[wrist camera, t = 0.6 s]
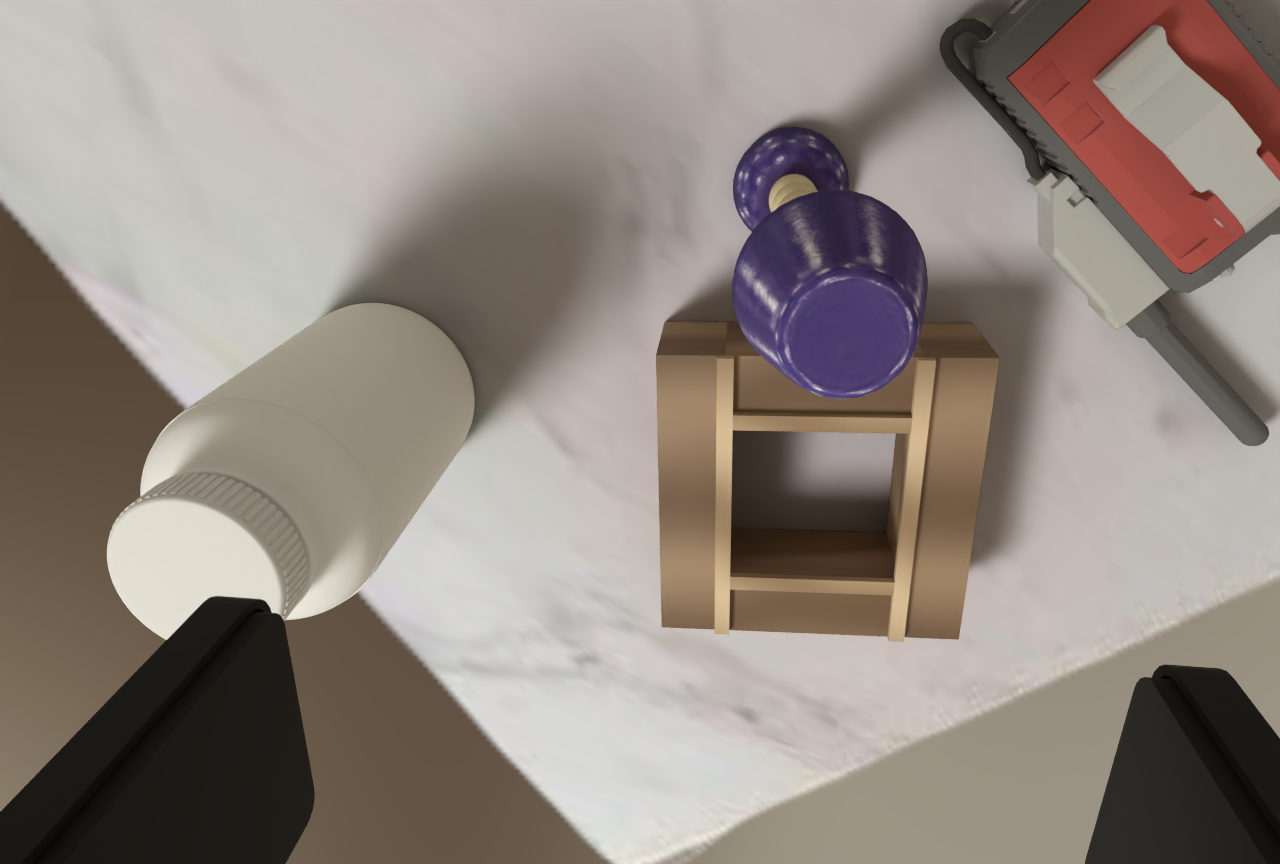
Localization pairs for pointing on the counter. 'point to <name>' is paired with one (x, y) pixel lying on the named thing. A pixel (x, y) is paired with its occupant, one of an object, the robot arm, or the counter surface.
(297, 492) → the pill bottle
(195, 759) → the robot arm
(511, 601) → the counter surface
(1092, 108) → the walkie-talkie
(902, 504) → the tan wooden square frame
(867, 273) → the toy lamp
